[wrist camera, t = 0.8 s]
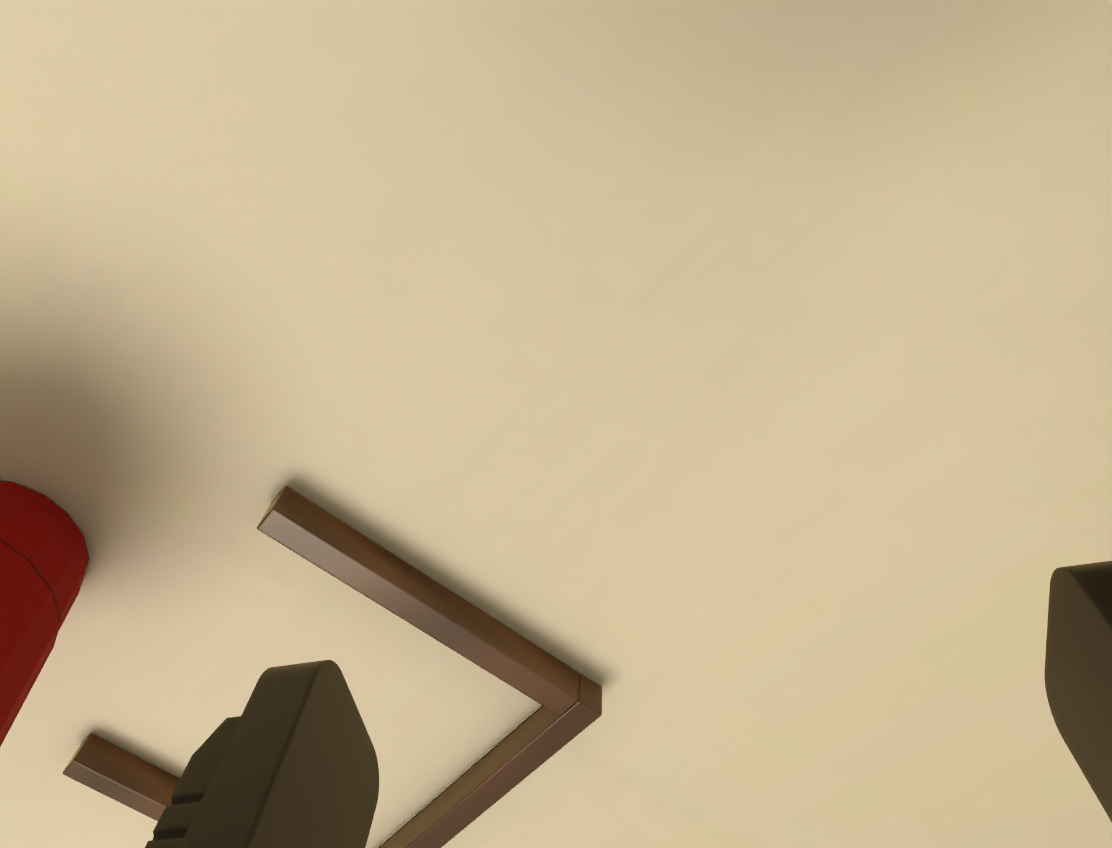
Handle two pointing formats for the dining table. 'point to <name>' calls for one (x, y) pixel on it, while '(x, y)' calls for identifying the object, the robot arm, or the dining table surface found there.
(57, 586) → the plastic cup
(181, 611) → the dining table surface
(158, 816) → the frame
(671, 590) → the dining table surface
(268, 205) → the dining table surface
